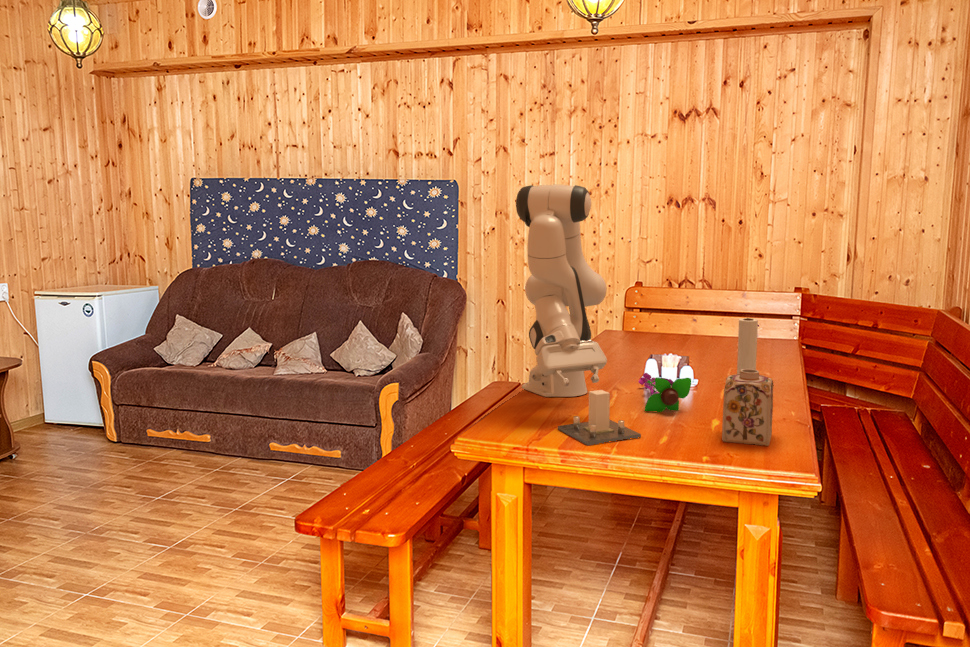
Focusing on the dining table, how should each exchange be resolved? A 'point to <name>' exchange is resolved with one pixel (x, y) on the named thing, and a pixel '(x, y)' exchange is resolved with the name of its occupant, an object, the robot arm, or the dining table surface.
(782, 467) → the dining table surface
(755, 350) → the tan cylinder
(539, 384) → the robot arm
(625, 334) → the dining table surface
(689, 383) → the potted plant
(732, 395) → the decorative jar
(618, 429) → the grey square base plate
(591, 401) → the post
